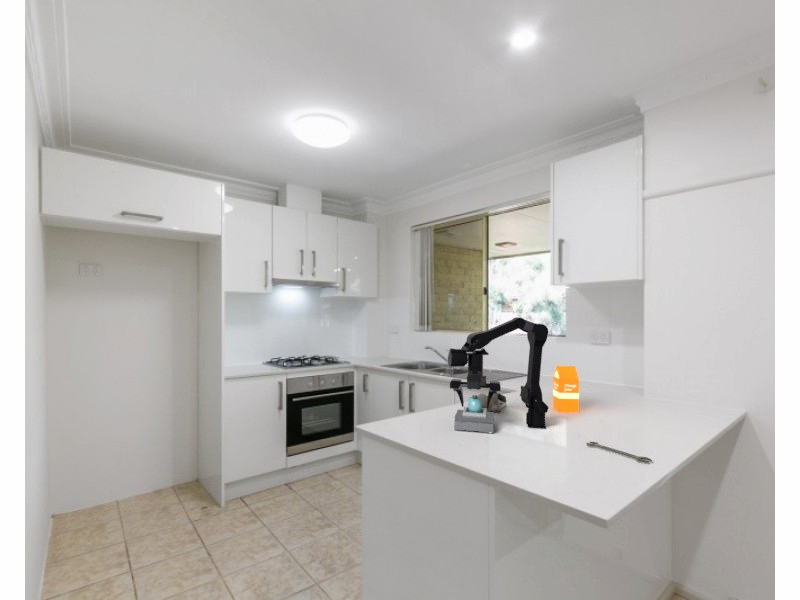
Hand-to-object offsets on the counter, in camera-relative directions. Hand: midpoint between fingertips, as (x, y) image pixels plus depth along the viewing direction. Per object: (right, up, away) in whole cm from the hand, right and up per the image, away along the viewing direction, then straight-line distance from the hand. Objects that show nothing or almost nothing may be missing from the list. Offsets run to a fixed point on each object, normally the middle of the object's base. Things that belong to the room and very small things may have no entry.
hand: (475, 407), depth 157 cm
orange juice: (+46, -9, +29) cm, 56 cm away
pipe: (+12, -9, +27) cm, 31 cm away
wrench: (+40, -8, -27) cm, 49 cm away
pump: (0, -3, 0) cm, 2 cm away
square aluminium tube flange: (0, -8, 0) cm, 8 cm away
